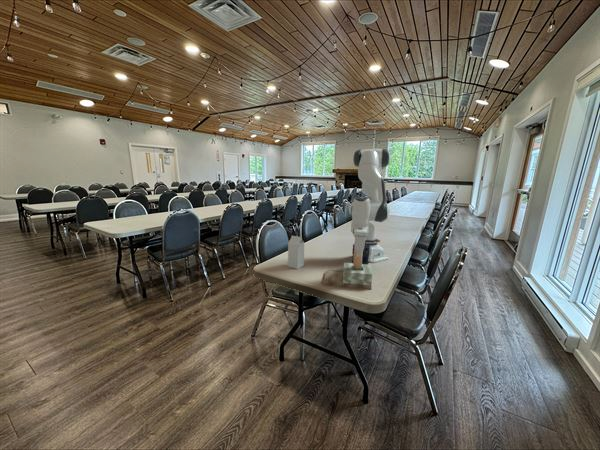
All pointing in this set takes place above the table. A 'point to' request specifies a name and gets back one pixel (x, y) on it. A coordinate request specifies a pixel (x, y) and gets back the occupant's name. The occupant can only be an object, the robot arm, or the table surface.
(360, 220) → the robot arm
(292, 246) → the milk carton
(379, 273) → the table surface
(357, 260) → the peg
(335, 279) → the socket board
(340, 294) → the table surface
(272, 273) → the table surface
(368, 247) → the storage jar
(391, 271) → the table surface
